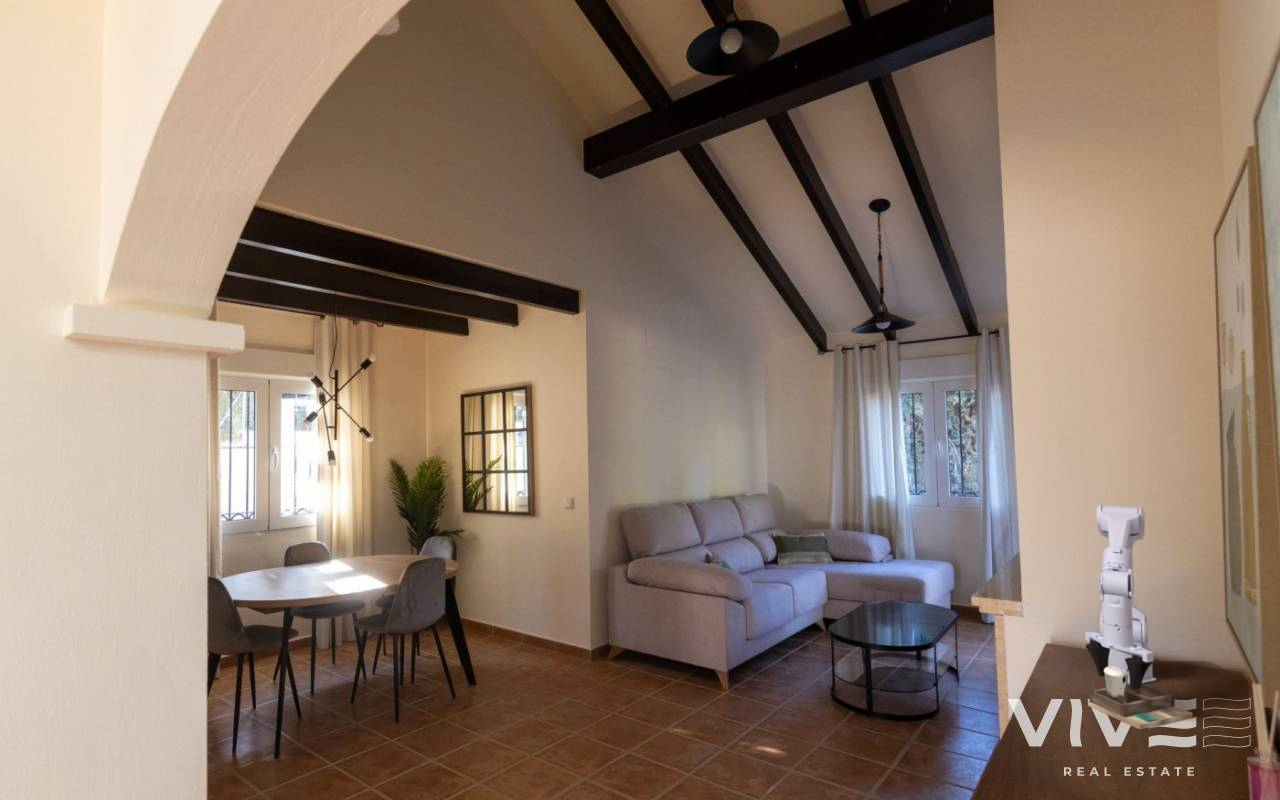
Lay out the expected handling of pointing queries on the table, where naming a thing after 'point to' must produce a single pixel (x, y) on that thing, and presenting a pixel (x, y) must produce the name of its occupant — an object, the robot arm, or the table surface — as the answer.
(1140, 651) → the robot arm
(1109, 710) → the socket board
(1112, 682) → the milkshake
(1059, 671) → the table surface
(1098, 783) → the table surface
